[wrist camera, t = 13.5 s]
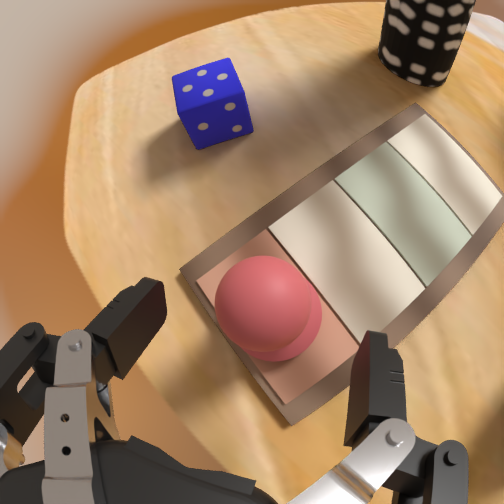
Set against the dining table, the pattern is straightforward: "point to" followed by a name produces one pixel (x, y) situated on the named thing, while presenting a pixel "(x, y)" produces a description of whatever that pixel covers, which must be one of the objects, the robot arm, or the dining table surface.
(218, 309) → the pawn
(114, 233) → the dining table surface
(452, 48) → the white-spotted black cylinder
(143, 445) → the robot arm
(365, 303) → the game track
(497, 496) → the dining table surface
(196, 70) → the die
